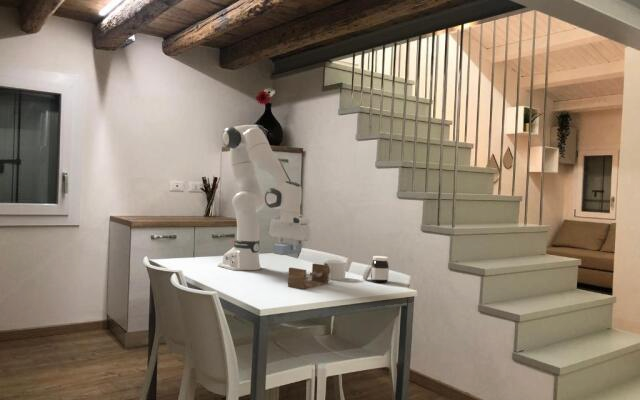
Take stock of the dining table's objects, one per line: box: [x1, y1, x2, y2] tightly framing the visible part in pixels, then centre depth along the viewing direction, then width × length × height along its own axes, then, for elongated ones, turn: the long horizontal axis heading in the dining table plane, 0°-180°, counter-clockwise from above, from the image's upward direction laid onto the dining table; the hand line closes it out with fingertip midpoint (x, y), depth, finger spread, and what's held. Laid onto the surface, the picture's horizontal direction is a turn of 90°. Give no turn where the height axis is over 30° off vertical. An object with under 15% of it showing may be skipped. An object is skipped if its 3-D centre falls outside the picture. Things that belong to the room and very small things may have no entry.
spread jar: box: [362, 255, 390, 284], centre depth 245 cm, size 12×11×12 cm
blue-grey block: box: [272, 242, 302, 256], centre depth 235 cm, size 14×5×4 cm, turn 146°
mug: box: [323, 258, 347, 281], centre depth 250 cm, size 13×10×8 cm
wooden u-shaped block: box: [287, 263, 330, 290], centre depth 228 cm, size 19×8×8 cm, turn 146°
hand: (287, 248), depth 235 cm, fingers closed on blue-grey block, 5 cm apart
